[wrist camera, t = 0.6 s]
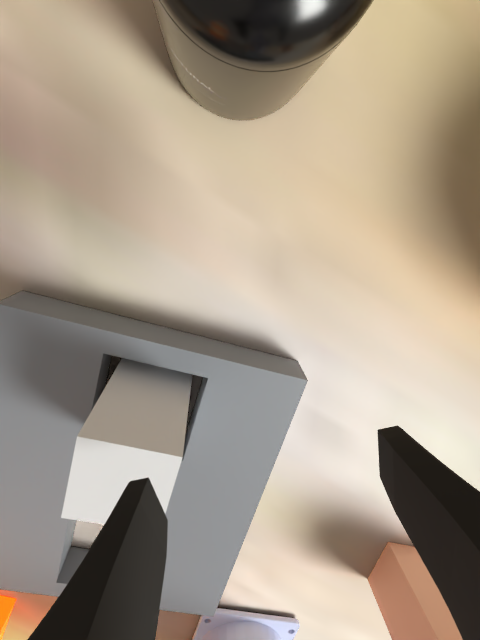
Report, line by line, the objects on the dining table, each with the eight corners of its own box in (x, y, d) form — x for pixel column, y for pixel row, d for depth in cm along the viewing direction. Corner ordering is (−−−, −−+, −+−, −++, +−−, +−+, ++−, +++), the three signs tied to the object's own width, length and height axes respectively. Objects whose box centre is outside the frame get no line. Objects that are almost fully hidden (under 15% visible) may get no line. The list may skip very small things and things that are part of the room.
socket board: (213, 580, 27) (213, 726, 20) (-11, 548, 25) (-109, 701, 17) (297, 360, 22) (342, 446, 14) (22, 290, 19) (-101, 349, 12)
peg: (411, 585, 29) (481, 721, 22) (367, 578, 28) (423, 715, 21) (433, 549, 28) (515, 679, 20) (388, 541, 27) (454, 672, 20)
